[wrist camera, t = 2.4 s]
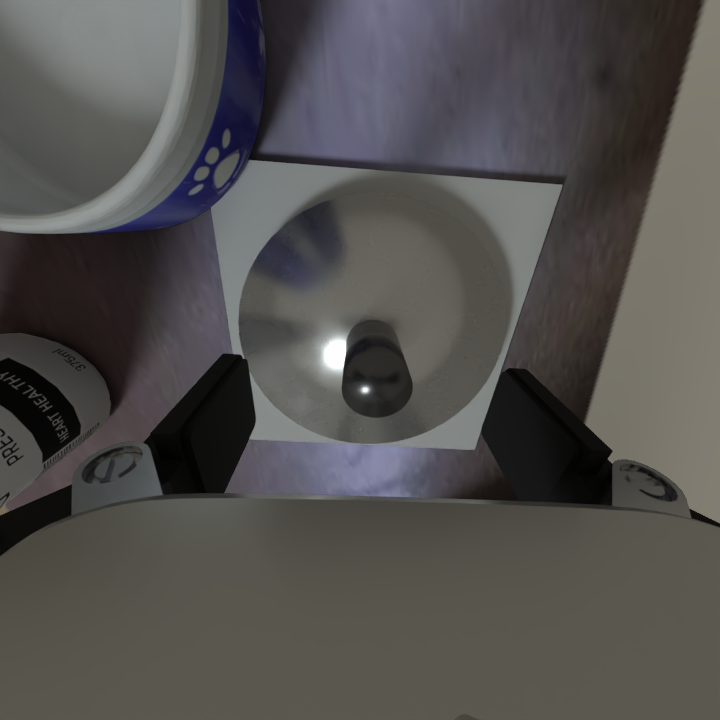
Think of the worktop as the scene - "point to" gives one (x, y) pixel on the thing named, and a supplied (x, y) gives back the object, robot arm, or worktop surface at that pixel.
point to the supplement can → (44, 407)
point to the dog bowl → (125, 110)
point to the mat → (451, 193)
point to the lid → (372, 318)
